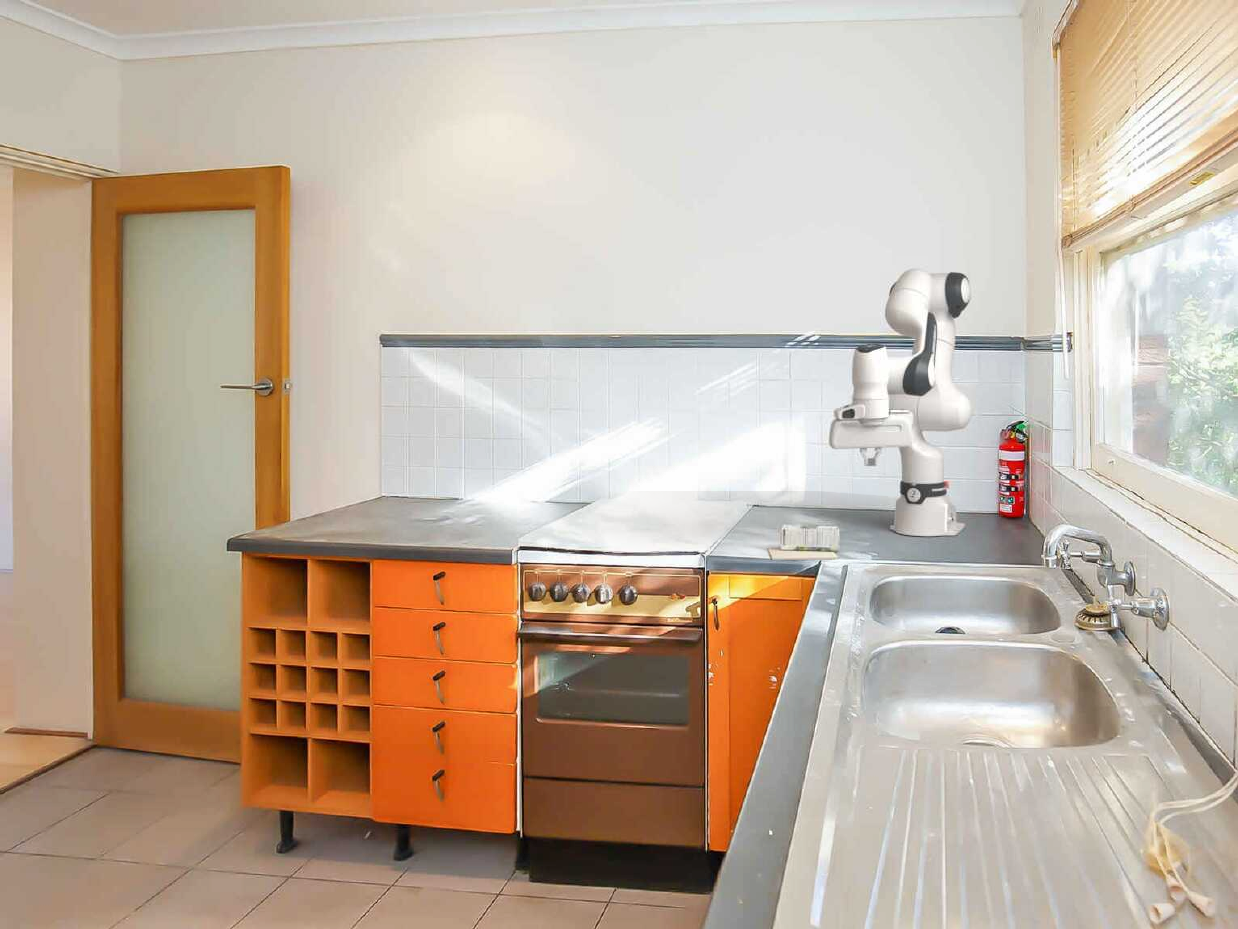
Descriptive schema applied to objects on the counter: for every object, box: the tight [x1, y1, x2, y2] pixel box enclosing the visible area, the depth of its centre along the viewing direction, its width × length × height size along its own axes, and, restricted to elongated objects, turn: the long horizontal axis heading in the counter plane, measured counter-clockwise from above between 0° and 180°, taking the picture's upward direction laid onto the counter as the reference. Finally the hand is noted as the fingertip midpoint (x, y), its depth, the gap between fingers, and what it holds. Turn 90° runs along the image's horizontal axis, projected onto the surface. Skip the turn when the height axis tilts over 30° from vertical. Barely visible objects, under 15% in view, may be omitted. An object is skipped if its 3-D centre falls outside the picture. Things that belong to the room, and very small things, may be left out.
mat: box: [767, 546, 839, 561], centre depth 267 cm, size 16×14×1 cm
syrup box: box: [779, 524, 840, 553], centre depth 270 cm, size 6×6×14 cm
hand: (870, 465), depth 264 cm, fingers closed
